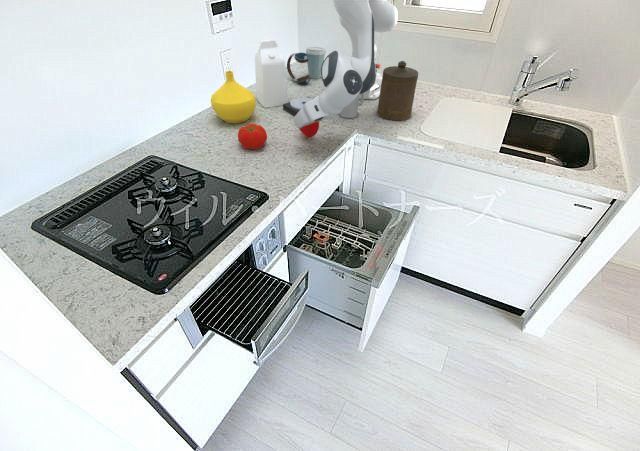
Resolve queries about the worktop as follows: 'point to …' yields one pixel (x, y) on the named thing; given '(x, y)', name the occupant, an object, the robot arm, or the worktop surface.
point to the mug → (352, 108)
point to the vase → (233, 101)
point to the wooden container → (397, 92)
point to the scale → (296, 105)
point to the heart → (310, 129)
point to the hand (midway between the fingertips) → (310, 122)
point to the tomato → (252, 136)
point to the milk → (270, 75)
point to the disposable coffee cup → (315, 61)
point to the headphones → (301, 59)
